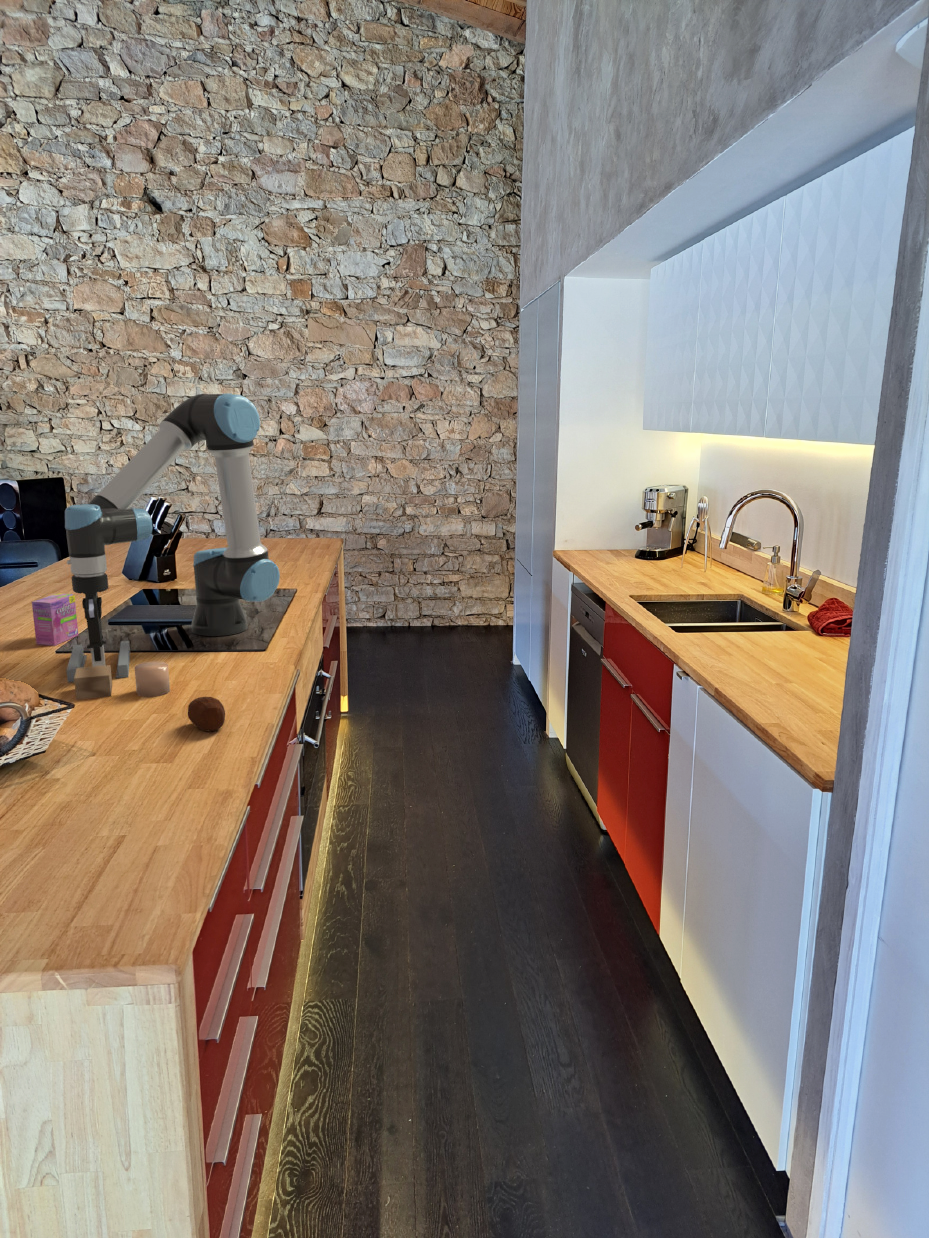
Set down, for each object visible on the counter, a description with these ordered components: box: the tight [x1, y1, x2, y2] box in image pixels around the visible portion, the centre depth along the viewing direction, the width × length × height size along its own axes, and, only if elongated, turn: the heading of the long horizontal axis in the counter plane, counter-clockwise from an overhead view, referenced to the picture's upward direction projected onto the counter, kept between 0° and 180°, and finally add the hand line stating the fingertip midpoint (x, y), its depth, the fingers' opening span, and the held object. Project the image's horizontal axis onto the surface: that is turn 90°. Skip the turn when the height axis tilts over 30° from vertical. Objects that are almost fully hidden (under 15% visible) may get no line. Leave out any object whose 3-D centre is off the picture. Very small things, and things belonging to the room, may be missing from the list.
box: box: [31, 592, 79, 647], centre depth 233 cm, size 10×6×12 cm, turn 168°
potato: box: [187, 696, 226, 732], centre depth 172 cm, size 7×9×6 cm
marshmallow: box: [134, 660, 171, 698], centre depth 193 cm, size 7×7×6 cm
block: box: [73, 664, 113, 701], centre depth 193 cm, size 7×8×5 cm
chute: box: [66, 640, 131, 684], centre depth 211 cm, size 13×22×3 cm, turn 19°
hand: (99, 672), depth 203 cm, fingers closed
